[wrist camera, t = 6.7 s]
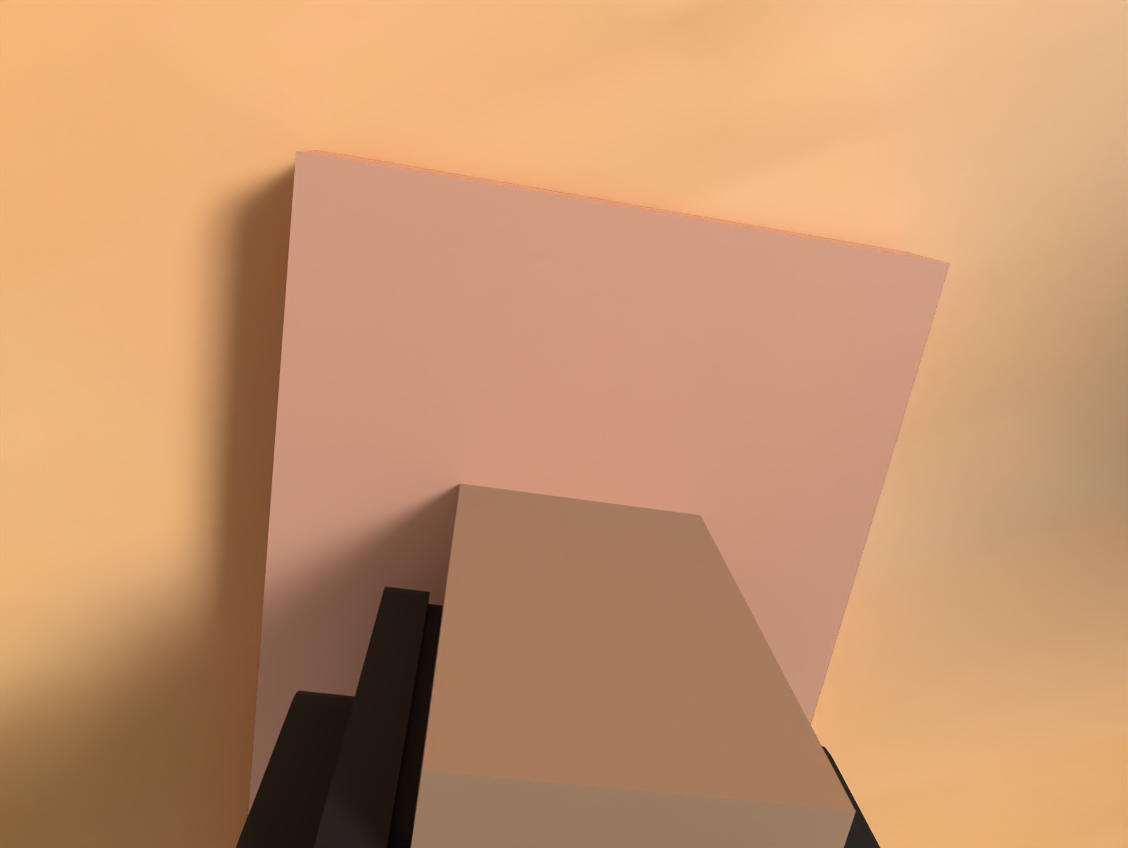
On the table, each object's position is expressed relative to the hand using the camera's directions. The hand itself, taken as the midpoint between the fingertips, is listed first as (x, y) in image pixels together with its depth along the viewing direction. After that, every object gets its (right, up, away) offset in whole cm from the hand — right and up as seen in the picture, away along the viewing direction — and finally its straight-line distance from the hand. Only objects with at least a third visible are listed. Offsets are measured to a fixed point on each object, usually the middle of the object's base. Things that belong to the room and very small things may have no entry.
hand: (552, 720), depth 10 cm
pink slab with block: (0, +1, +2) cm, 2 cm away
